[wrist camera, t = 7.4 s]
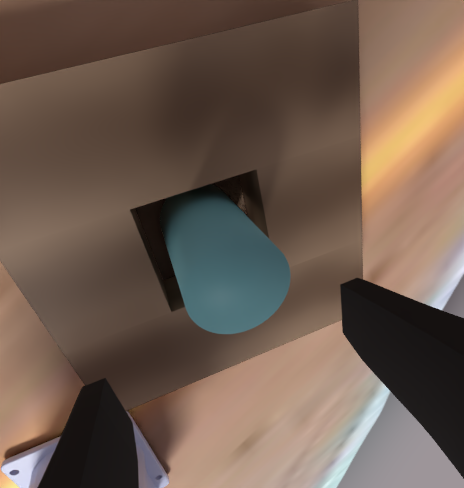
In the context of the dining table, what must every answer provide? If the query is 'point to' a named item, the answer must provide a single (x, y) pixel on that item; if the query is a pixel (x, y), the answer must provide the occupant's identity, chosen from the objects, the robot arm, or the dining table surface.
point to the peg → (222, 261)
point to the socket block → (182, 189)
